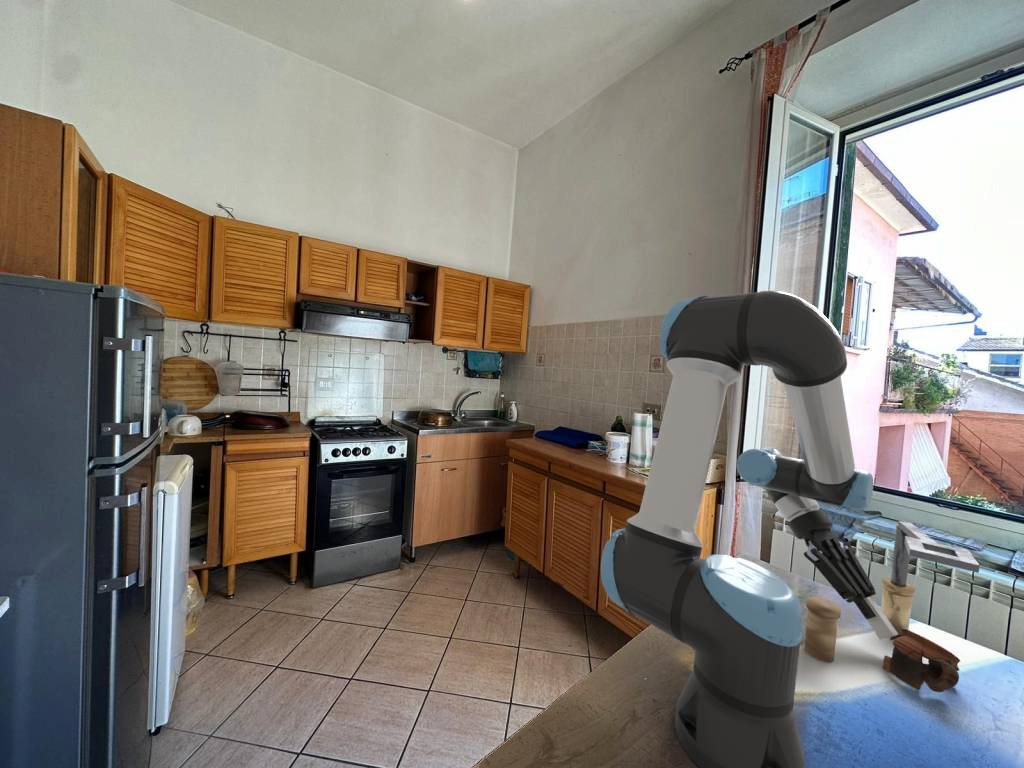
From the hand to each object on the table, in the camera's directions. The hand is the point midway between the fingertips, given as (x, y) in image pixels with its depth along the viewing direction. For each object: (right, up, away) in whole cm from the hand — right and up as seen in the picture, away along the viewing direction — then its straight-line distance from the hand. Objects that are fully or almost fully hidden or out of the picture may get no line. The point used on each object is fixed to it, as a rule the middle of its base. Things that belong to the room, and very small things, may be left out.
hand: (889, 636), depth 77 cm
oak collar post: (-14, -3, -1) cm, 14 cm away
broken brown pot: (0, -4, -6) cm, 8 cm away
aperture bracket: (+6, -4, +1) cm, 7 cm away
